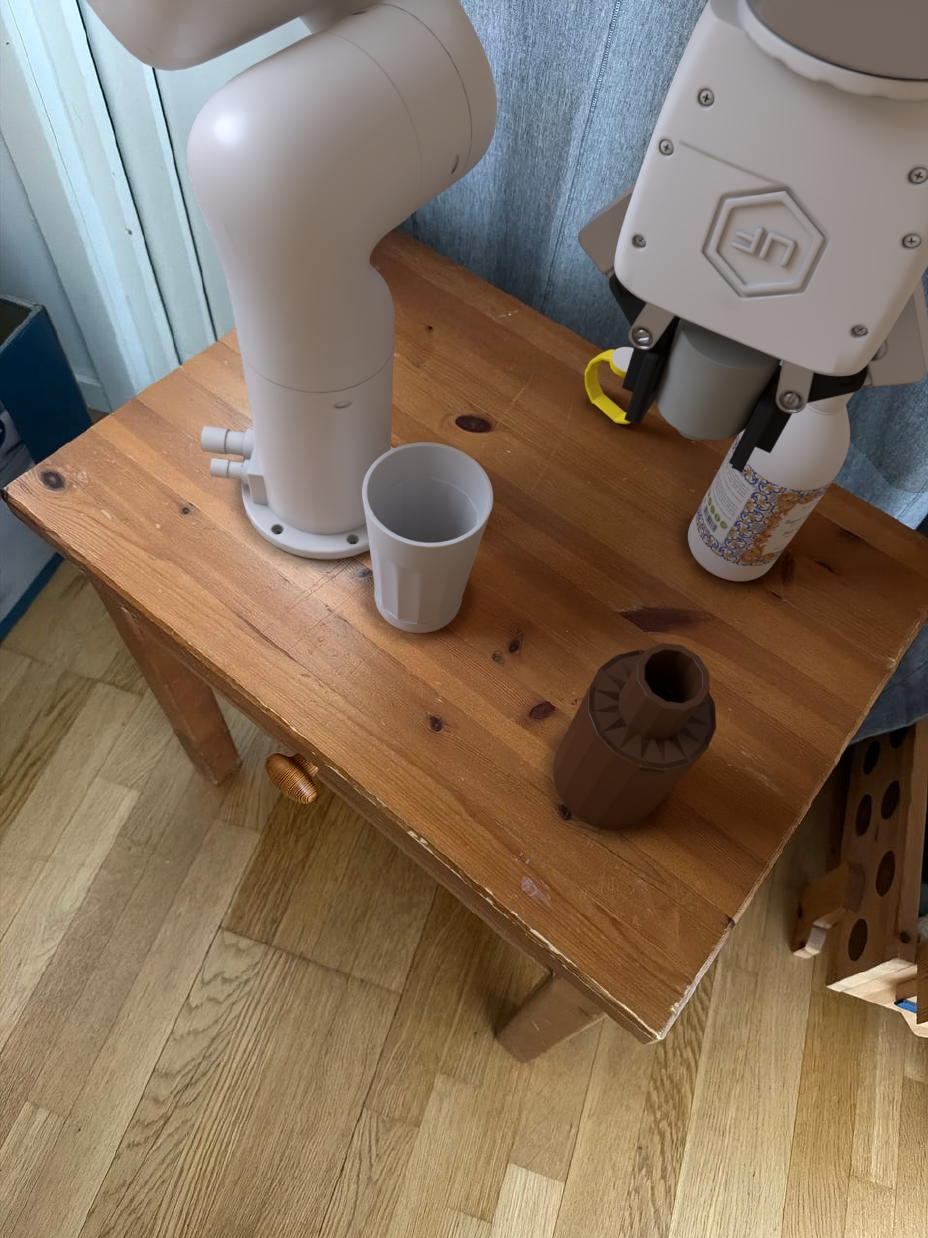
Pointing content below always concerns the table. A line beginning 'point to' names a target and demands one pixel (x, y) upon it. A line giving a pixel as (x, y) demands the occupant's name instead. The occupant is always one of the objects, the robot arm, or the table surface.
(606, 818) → the bottle
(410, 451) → the cup
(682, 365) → the bung
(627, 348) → the watch
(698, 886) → the table surface
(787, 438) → the bath foam
